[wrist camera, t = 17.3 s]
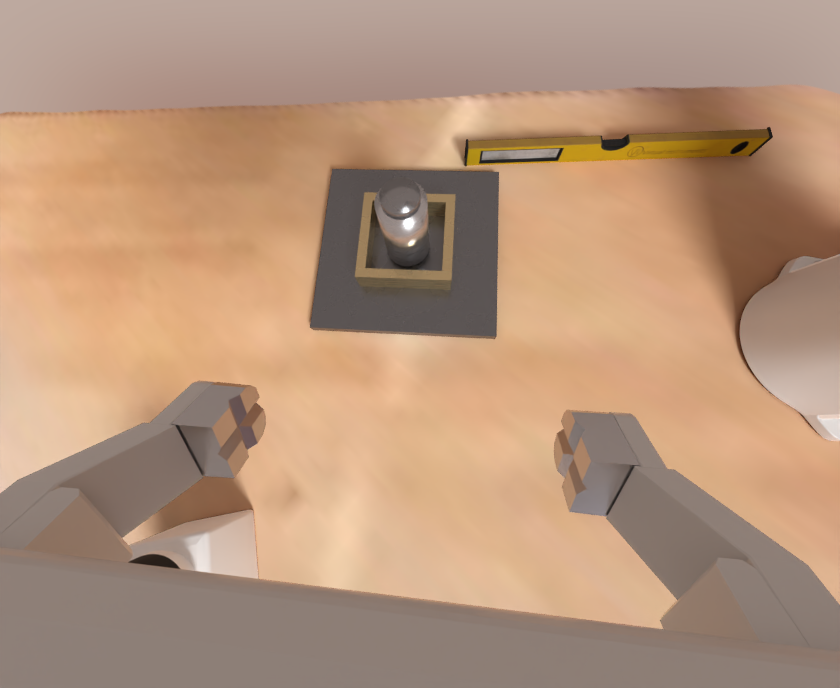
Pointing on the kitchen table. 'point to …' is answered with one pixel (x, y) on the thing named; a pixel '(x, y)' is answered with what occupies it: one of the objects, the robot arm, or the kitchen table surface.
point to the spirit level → (616, 147)
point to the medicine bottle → (204, 546)
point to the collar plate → (419, 284)
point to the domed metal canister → (403, 220)
